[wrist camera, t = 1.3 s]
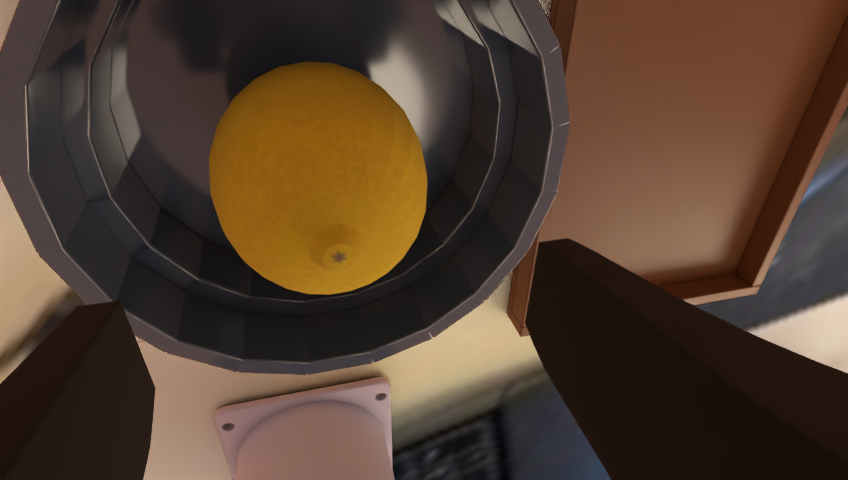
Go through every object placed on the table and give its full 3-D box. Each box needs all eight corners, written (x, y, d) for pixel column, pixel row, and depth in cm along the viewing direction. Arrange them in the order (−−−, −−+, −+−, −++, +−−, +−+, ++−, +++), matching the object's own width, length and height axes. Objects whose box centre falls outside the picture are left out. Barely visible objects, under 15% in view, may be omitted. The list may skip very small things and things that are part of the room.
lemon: (410, 57, 17) (504, 160, 10) (368, 205, 19) (423, 360, 13) (229, 9, 15) (209, 101, 8) (209, 181, 17) (182, 352, 11)
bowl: (484, 256, 23) (532, 334, 19) (141, 305, 20) (111, 411, 16) (523, -130, 15) (619, -136, 11) (-27, -149, 12) (-166, -168, 8)
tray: (734, 275, 28) (757, 294, 27) (506, 314, 25) (520, 337, 24) (933, -178, 18) (987, -183, 16) (581, -203, 15) (612, -211, 13)
